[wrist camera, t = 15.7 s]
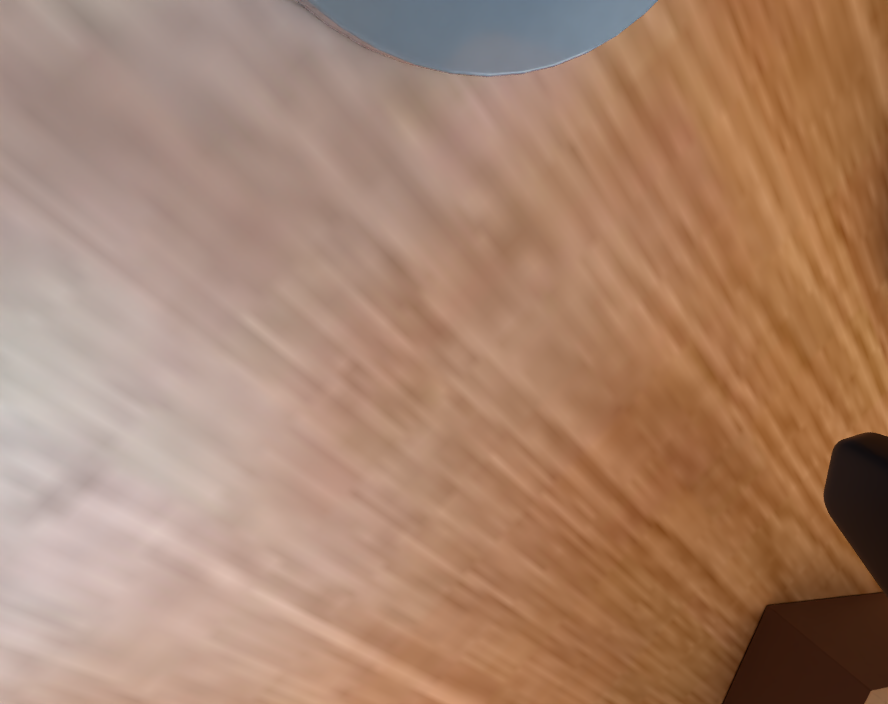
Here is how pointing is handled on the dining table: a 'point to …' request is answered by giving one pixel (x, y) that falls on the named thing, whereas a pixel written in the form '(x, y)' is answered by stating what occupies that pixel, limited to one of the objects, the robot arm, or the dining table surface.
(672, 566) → the dining table surface
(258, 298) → the dining table surface
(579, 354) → the dining table surface
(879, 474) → the robot arm
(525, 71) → the plate
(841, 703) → the cake
